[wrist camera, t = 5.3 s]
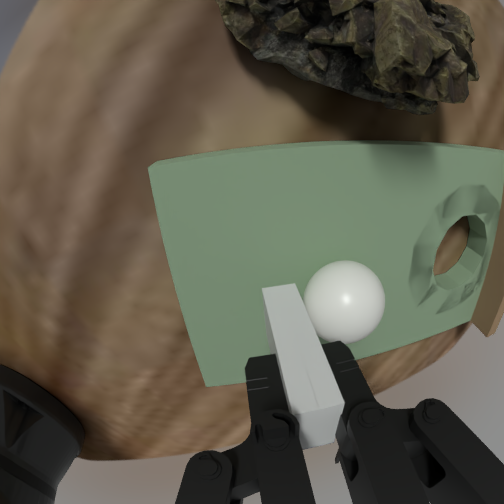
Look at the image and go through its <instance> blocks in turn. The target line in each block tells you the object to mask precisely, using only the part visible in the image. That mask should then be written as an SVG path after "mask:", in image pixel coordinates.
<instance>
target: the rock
mask: <svg viewBox="0 0 504 504" xmlns="http://www.w3.org/2000/svg"><path fill="white" fill-rule="evenodd" d="M215 1H216V2H217V3H218V4H219V8H220V12H221V16H222V19H223V21H224V24H225V26H226V27H227V28H228V29H229V30H230V31H231V32H232V33H233V35H234V36H235V38H236V39H237V41H239V42H240V43H242V44H243V45H244V46H246V47H247V48H248V49H249V51H250V53H251V54H252V55H253V56H254V57H255V58H256V59H257V60H260V61H265V62H271V63H278V64H282V65H283V66H284V67H285V68H286V69H287V70H288V71H289V72H290V73H291V74H293V75H295V76H297V77H299V78H300V79H302V80H306V81H308V80H312V81H315V82H318V83H320V84H323V85H326V86H328V87H332V88H335V89H338V90H342V91H344V92H346V93H348V94H351V95H354V96H357V97H360V98H363V99H367V100H370V101H377V102H383V104H384V105H385V107H386V108H387V109H398V110H407V111H409V112H411V113H413V114H419V115H424V114H432V113H434V112H435V110H436V107H437V105H438V104H437V101H442V102H446V103H454V104H455V103H464V102H465V100H466V98H467V97H468V95H469V90H468V81H478V79H479V77H480V76H479V73H478V68H477V63H476V62H475V61H474V60H472V58H473V53H472V46H471V43H472V42H473V41H474V40H475V38H474V32H473V30H472V27H471V24H470V18H469V16H468V15H467V14H465V13H464V12H462V11H461V10H460V9H458V8H457V7H454V6H452V5H446V4H440V3H438V2H435V1H434V0H215Z"/></svg>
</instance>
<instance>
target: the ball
mask: <svg viewBox="0 0 504 504" xmlns="http://www.w3.org/2000/svg"><path fill="white" fill-rule="evenodd" d="M303 303H304V305H305V308H306V310H307V313H308V315H309V317H310V320H311V322H312V324H313V327H314V329H315V331H316V334H317V335H318V336H319V337H321V338H322V339H324V340H326V341H329V342H335V341H341V342H343V343H344V344H350V343H354V342H357V341H360V340H362V339H364V338H365V337H367V336H368V335H369V334H371V333H372V332H373V331H374V330H375V328H376V327H377V326H378V324H379V322H380V321H381V319H382V316H383V313H384V309H385V293H384V289H383V286H382V284H381V282H380V280H379V278H378V277H377V275H376V274H375V273H374V272H373V271H372V270H371V269H369V268H368V267H366V266H365V265H363V264H361V263H358V262H355V261H348V260H341V261H335V262H332V263H329V264H327V265H325V266H324V267H322V268H320V269H319V270H318V271H317V272H316V273H315V274H314V275H313V276H312V277H311V279H310V280H309V282H308V284H307V286H306V289H305V291H304V296H303Z"/></svg>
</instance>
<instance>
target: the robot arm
mask: <svg viewBox="0 0 504 504" xmlns="http://www.w3.org/2000/svg"><path fill="white" fill-rule="evenodd" d="M262 296H263V306H264V316H265V326H266V335H267V339H268V344H269V348H270V353H271V354H270V355H263V356H257V357H250V358H249V359H248V361H247V364H246V366H245V376H246V384H247V392H248V401H249V409H250V416H251V430H250V435H249V436H248V438H247V439H246V440H245V441H244V442H243V443H242V444H240V445H238V446H236V447H234V448H232V449H229V450H227V451H224V452H221V453H220V452H217V451H213V450H210V451H202V452H199V453H197V454H195V455H194V456H193V457H192V458H190V460H189V462H188V463H187V466H186V469H185V472H184V475H183V479H182V482H181V485H180V489H179V492H178V495H177V499H176V502H175V504H243V498H245V497H247V496H250V495H252V494H254V493H257V492H260V495H261V502H262V504H316V503H315V499H314V495H313V491H312V487H311V483H310V479H309V475H308V471H307V467H306V463H305V459H304V455H303V451H302V450H304V449H308V448H313V447H318V446H321V445H326V444H330V443H334V441H335V437H336V439H337V442H338V445H339V449H338V452H337V455H336V458H335V463H338V462H339V460H340V463H341V467H342V470H343V473H344V476H345V479H346V483H347V486H348V489H349V492H350V496H351V499H352V502H353V504H430V503H431V504H504V464H503V463H502V462H501V461H500V460H499V459H498V458H497V457H496V456H495V455H494V454H493V453H492V451H490V449H489V448H488V447H487V446H486V445H485V444H484V443H483V442H482V441H481V440H480V439H479V438H478V437H477V436H476V435H475V434H474V433H473V432H472V431H471V430H470V429H469V428H468V427H467V426H466V425H465V423H464V422H463V421H462V420H461V419H460V418H459V417H458V416H456V414H454V412H453V411H452V410H451V409H450V408H449V407H448V406H447V405H445V403H443V402H442V401H440V400H437V399H434V398H432V399H425V400H423V401H421V402H420V403H419V404H418V405H417V406H416V407H415V408H410V409H390V408H386V407H384V406H382V405H380V404H379V403H378V402H377V401H376V400H375V398H374V396H373V394H372V392H371V390H370V388H369V386H368V384H367V382H366V380H365V378H364V376H363V374H362V372H361V370H360V369H359V366H358V364H357V362H356V360H355V358H354V356H353V354H352V352H351V350H350V348H349V347H348V346H346V345H345V344H344V343H343V342H341V341H335V342H330V343H326V344H321V343H320V341H319V339H318V336H317V334H316V331H315V329H314V327H313V324H312V322H311V320H310V317H309V315H308V313H307V310H306V308H305V305H304V303H303V301H302V298H301V296H300V294H299V292H298V289H297V287H296V285H295V283H293V284H287V285H280V286H274V287H267V288H262ZM84 438H85V432H84V429H83V427H82V425H81V424H80V422H79V421H78V420H77V419H76V417H75V416H74V415H73V414H72V413H71V412H70V411H69V410H68V409H67V408H66V407H65V406H64V405H62V404H61V403H60V402H59V401H58V400H57V399H55V398H54V397H53V396H52V395H50V394H49V393H48V392H46V391H45V390H43V389H42V388H41V387H39V386H38V385H36V384H35V383H33V382H32V381H30V380H29V379H27V378H25V377H24V376H22V375H20V374H19V373H17V372H15V371H13V370H11V369H9V368H7V367H5V366H2V365H0V504H54V501H55V495H56V491H57V487H58V484H59V482H60V481H61V480H62V478H63V476H64V475H65V473H66V472H67V470H68V469H69V467H70V465H71V464H72V462H73V460H74V458H76V457H77V456H78V455H79V454H80V452H81V450H82V446H83V442H84ZM429 502H430V503H429Z"/></svg>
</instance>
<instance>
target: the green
mask: <svg viewBox="0 0 504 504" xmlns="http://www.w3.org/2000/svg"><path fill="white" fill-rule="evenodd" d="M148 171H149V176H150V182H151V187H152V192H153V197H154V202H155V207H156V211H157V216H158V221H159V225H160V229H161V234H162V238H163V242H164V247H165V251H166V255H167V259H168V263H169V267H170V270H171V274H172V278H173V282H174V286H175V289H176V293H177V296H178V300H179V303H180V307H181V310H182V314H183V317H184V320H185V324H186V327H187V330H188V334H189V337H190V340H191V343H192V346H193V349H194V352H195V355H196V358H197V361H198V364H199V367H200V370H201V373H202V376H203V379H204V382H205V385H206V387H210V386H220V385H229V384H237V383H244V382H246V376H245V366H246V364H247V361H248V359H249V358H250V357H257V356H263V355H270V354H271V353H270V348H269V344H268V339H267V335H266V326H265V316H264V306H263V296H262V288H267V287H274V286H280V285H287V284H293V283H295V285H296V287H297V289H298V292H299V294H300V296H301V298H302V301H303V296H304V291H305V289H306V286H307V284H308V282H309V280H310V279H311V277H312V276H313V275H314V274H315V273H316V272H317V271H318V270H319V269H320V268H322V267H324V266H325V265H327V264H329V263H332V262H335V261H341V260H348V261H355V262H358V263H361V264H363V265H365V266H366V267H368V268H369V269H371V270H372V271H373V272H374V273H375V274H376V275H377V277H378V278H379V280H380V282H381V284H382V286H383V289H384V293H385V309H384V313H383V316H382V319H381V321H380V322H379V324H378V326H377V327H376V328H375V330H374V331H373V332H372V333H371V334H369V335H368V336H367V337H365V338H364V339H362V340H360V341H357V342H354V343H350V344H345V345H346V346H348V347H349V348H350V350H351V352H352V354H353V356H354V358H355V360H358V359H361V358H365V357H368V356H372V355H375V354H379V353H382V352H385V351H389V350H392V349H395V348H398V347H401V346H404V345H407V344H410V343H413V342H416V341H419V340H422V339H425V338H427V337H430V336H433V335H435V334H438V333H441V332H443V331H446V330H448V329H451V328H453V327H456V326H458V325H461V324H463V323H465V322H468V321H470V320H471V321H472V322H473V324H474V325H475V326H476V327H477V328H478V329H479V330H480V331H481V332H482V333H483V334H484V335H485V336H486V337H489V336H490V335H492V334H494V333H495V331H496V329H497V327H498V325H499V322H500V320H501V318H502V315H503V313H504V151H503V150H498V149H491V148H484V147H476V146H467V145H457V144H446V143H433V142H416V141H385V140H353V141H320V142H302V143H288V144H275V145H265V146H255V147H246V148H237V149H229V150H222V151H215V152H208V153H201V154H195V155H189V156H183V157H177V158H172V159H166V160H161V161H157V162H155V163H154V164H152V165H151V166H149V167H148ZM462 216H467V217H468V221H469V226H470V231H469V237H468V242H467V246H466V248H465V250H464V252H463V254H462V255H461V257H460V259H459V261H458V262H457V263H456V264H455V265H454V266H453V267H452V268H450V269H449V270H448V271H447V272H446V273H444V274H440V275H436V276H434V273H433V266H434V261H435V256H436V251H437V248H438V246H439V245H440V243H441V241H442V239H443V237H444V236H445V234H446V232H447V230H448V229H449V228H450V227H451V226H452V225H453V224H454V223H455V222H457V221H458V220H459V219H460V218H461V217H462ZM317 336H318V335H317ZM318 339H319V341H320V343H321V344H326V343H330V342H329V341H326V340H324V339H322V338H321V337H319V336H318Z"/></svg>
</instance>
